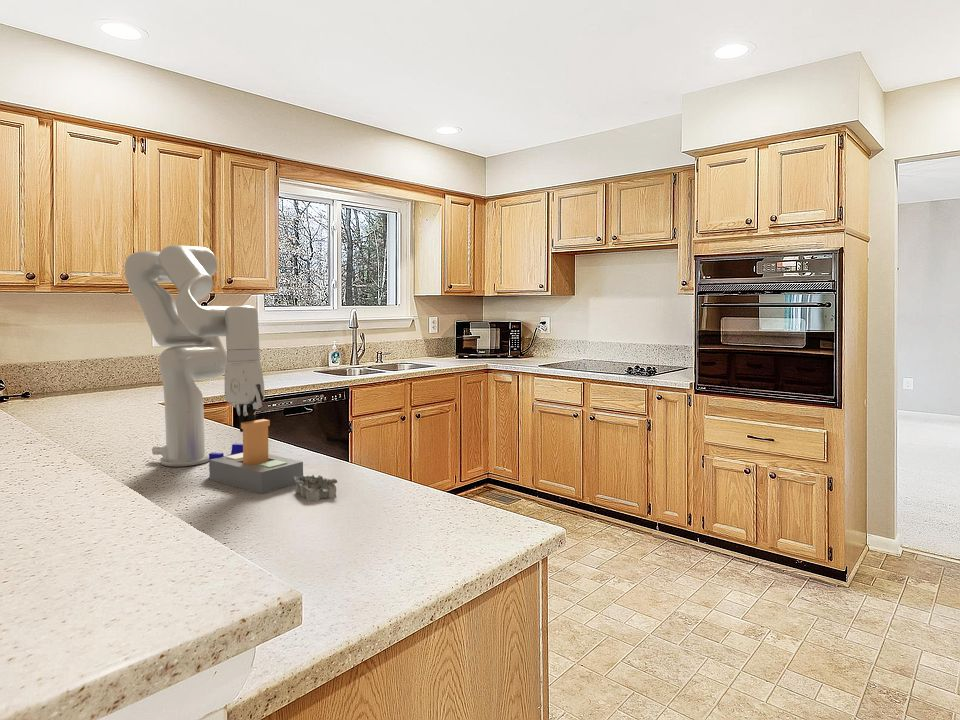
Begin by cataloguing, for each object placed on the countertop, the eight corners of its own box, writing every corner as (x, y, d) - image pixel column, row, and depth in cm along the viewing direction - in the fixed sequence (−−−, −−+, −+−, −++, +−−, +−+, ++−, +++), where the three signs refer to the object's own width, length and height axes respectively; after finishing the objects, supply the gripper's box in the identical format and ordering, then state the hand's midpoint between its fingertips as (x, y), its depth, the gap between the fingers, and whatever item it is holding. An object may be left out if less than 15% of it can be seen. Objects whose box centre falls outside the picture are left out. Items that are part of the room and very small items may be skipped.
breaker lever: (241, 472, 152) (240, 422, 151) (264, 467, 157) (263, 418, 156) (247, 474, 151) (247, 424, 149) (270, 468, 156) (269, 420, 155)
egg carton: (339, 498, 142) (339, 480, 142) (306, 503, 138) (306, 485, 138) (324, 486, 151) (323, 469, 150) (292, 490, 147) (292, 473, 146)
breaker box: (209, 479, 155) (209, 458, 154) (251, 469, 165) (251, 449, 164) (261, 493, 144) (261, 471, 143) (303, 481, 153) (302, 460, 153)
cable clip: (230, 465, 170) (229, 443, 169) (246, 465, 169) (245, 443, 168) (204, 477, 158) (203, 453, 157) (220, 477, 157) (220, 454, 157)
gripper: (211, 357, 155) (215, 431, 156) (249, 358, 146) (253, 436, 147) (238, 355, 161) (242, 426, 162) (276, 356, 152) (279, 431, 154)
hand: (247, 431), depth 155 cm, fingers closed
